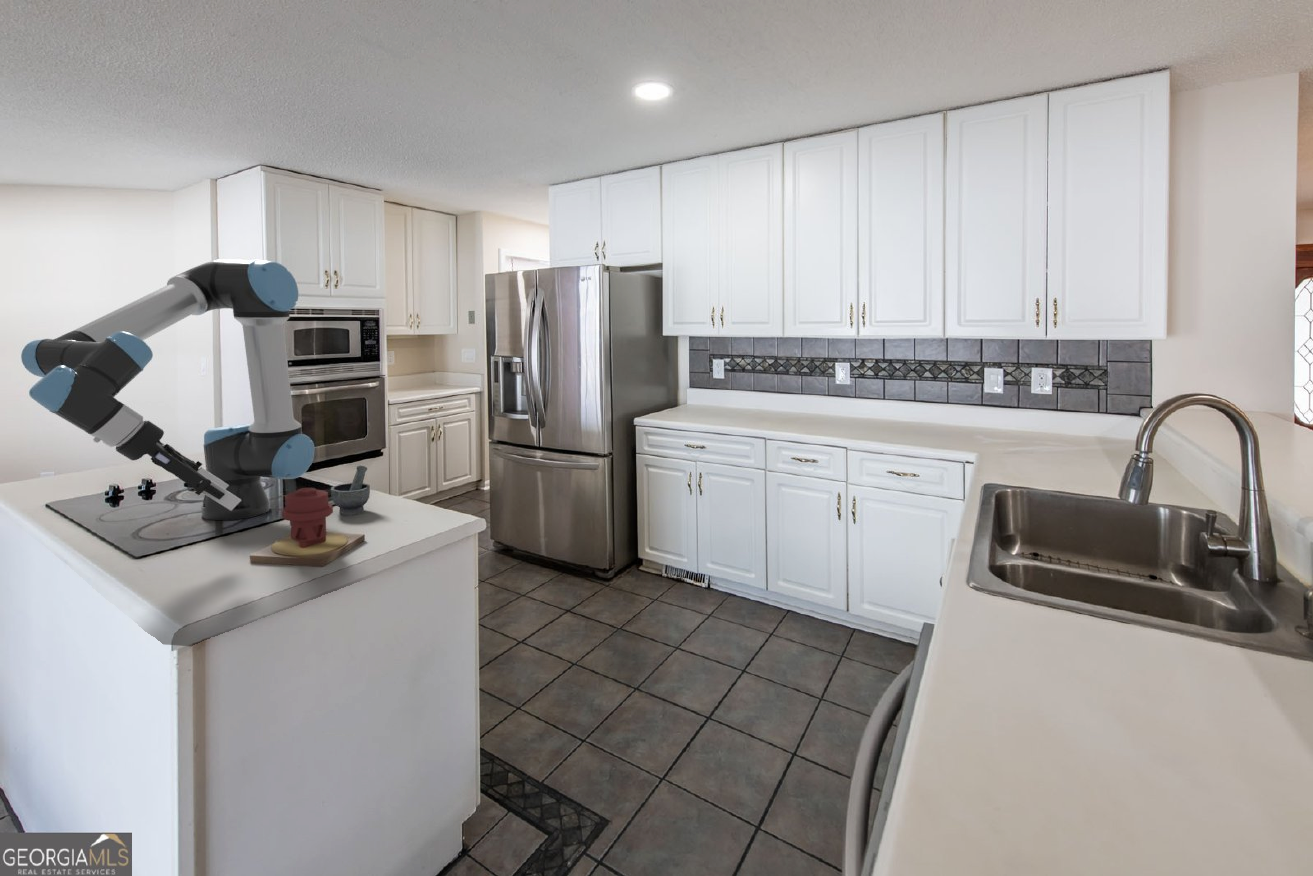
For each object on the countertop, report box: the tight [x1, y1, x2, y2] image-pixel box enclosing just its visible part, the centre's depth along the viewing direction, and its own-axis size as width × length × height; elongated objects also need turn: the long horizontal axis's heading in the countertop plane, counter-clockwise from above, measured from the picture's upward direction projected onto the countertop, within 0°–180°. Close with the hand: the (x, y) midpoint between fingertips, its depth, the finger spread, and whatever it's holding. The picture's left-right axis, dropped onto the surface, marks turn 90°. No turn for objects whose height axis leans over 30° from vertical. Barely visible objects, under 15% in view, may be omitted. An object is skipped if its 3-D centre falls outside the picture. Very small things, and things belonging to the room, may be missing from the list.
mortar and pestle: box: [330, 465, 371, 516], centre depth 172 cm, size 11×9×12 cm
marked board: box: [249, 531, 366, 567], centre depth 142 cm, size 17×16×2 cm
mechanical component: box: [280, 487, 334, 548], centre depth 141 cm, size 12×10×10 cm
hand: (230, 497), depth 133 cm, fingers open, 13 cm apart
